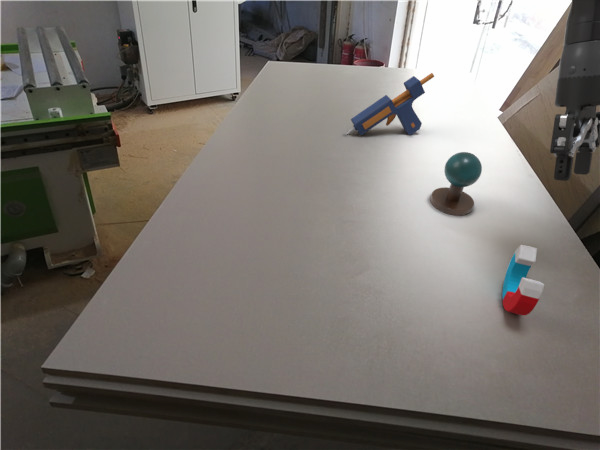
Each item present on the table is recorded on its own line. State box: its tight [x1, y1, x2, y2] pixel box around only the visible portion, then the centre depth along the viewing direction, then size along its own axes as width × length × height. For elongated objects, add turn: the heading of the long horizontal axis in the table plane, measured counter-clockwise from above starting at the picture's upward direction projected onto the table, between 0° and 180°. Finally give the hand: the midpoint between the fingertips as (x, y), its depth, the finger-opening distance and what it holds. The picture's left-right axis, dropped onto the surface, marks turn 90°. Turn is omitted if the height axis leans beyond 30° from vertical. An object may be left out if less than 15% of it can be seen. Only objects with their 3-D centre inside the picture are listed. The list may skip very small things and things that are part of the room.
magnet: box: [501, 244, 545, 316], centre depth 71 cm, size 12×3×10 cm, turn 161°
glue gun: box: [345, 72, 435, 136], centre depth 126 cm, size 6×31×15 cm
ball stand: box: [429, 151, 483, 216], centre depth 95 cm, size 10×10×14 cm
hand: (572, 176), depth 68 cm, fingers open, 8 cm apart
